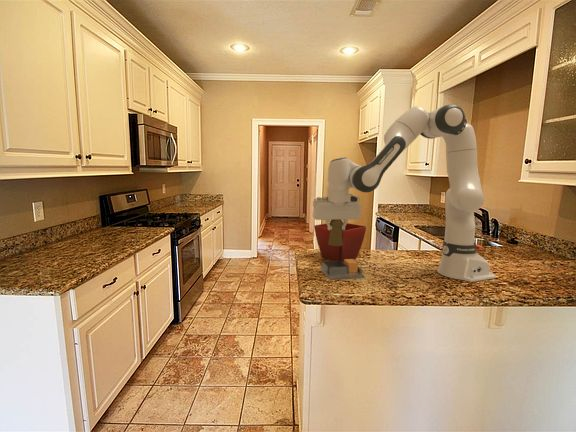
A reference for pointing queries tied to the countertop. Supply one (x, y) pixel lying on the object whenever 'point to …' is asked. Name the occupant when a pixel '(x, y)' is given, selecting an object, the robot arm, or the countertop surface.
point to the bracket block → (351, 265)
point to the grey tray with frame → (339, 270)
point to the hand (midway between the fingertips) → (336, 229)
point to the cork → (335, 233)
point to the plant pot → (350, 241)
